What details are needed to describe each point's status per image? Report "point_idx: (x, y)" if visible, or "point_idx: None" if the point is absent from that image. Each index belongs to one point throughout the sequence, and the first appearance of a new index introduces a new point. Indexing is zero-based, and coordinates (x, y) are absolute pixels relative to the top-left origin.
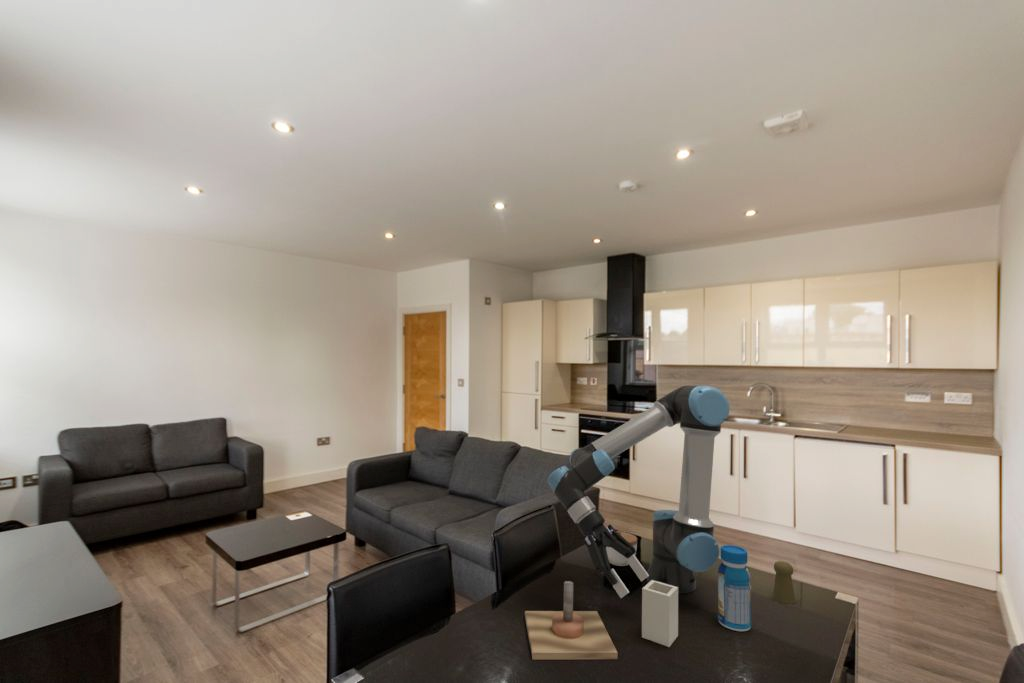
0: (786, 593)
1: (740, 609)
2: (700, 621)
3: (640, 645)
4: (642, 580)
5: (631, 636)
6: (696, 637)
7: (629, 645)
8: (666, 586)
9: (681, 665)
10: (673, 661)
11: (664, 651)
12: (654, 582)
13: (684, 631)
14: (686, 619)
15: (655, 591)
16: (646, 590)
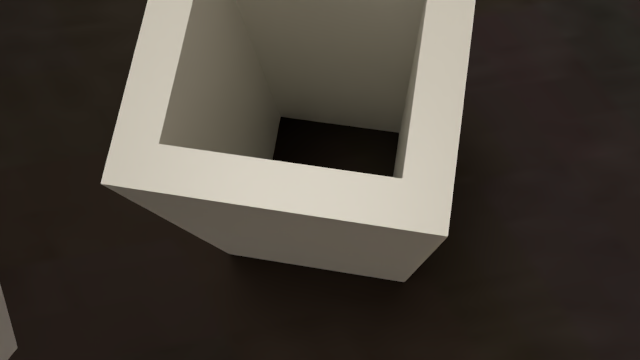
0: None
1: None
2: (24, 8)
3: (507, 268)
4: (10, 334)
5: (429, 347)
6: None
7: (550, 332)
8: (196, 7)
9: (577, 27)
10: (564, 69)
11: (488, 129)
12: (161, 141)
13: None
14: (33, 80)
15: (442, 74)
16: (451, 182)
